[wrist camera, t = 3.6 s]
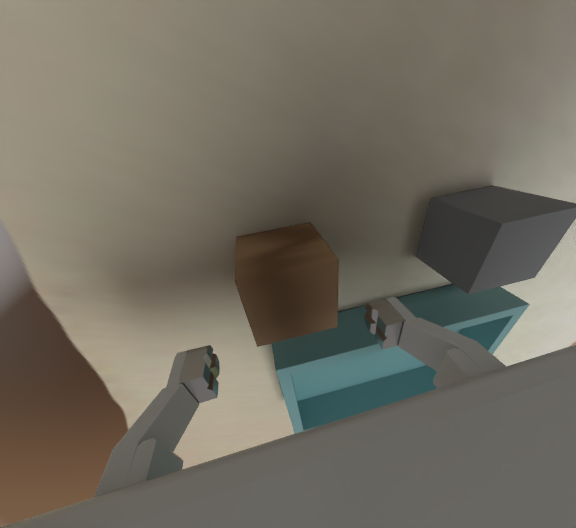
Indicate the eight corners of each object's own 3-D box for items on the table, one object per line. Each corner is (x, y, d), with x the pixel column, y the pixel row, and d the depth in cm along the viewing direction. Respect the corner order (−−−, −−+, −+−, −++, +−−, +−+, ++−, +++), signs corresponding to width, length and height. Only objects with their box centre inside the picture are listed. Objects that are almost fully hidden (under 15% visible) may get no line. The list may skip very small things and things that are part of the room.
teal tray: (483, 276, 21) (529, 304, 17) (443, 355, 29) (469, 385, 25) (269, 328, 19) (275, 370, 16) (288, 398, 27) (295, 436, 23)
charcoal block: (491, 185, 15) (584, 205, 11) (467, 244, 18) (534, 277, 14) (429, 198, 15) (502, 223, 11) (414, 256, 18) (468, 294, 14)
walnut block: (309, 221, 14) (338, 259, 10) (313, 279, 17) (337, 326, 13) (236, 236, 14) (235, 281, 9) (253, 292, 16) (257, 346, 12)
